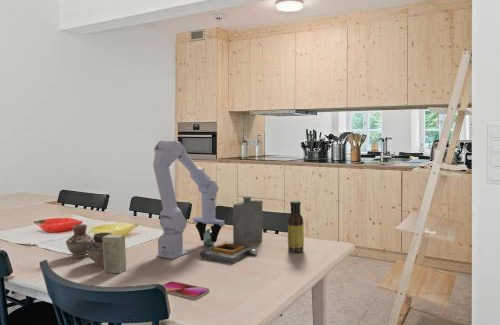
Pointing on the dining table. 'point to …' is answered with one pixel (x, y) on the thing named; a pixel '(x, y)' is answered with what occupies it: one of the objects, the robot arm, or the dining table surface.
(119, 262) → the skincare box
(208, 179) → the robot arm
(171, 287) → the smartphone
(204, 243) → the spout can
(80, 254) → the pottery
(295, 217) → the sauce bottle
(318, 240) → the dining table surface
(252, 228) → the hip flask
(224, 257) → the grey square hole board
